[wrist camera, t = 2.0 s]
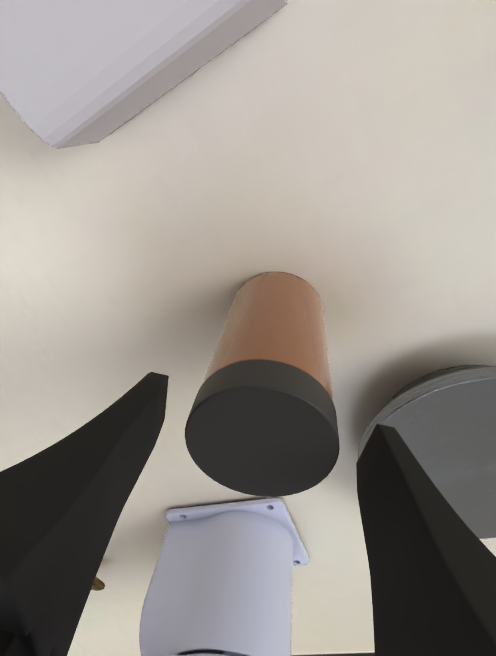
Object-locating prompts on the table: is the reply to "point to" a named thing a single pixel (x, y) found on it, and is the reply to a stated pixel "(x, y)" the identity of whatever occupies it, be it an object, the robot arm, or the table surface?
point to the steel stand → (452, 437)
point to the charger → (109, 57)
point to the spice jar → (267, 393)
